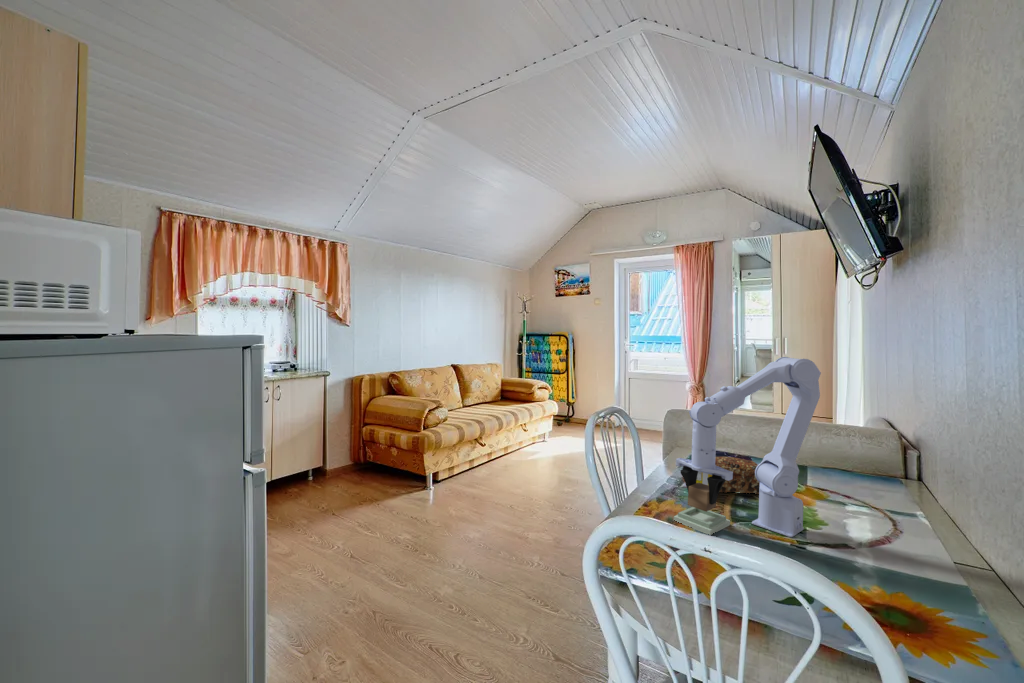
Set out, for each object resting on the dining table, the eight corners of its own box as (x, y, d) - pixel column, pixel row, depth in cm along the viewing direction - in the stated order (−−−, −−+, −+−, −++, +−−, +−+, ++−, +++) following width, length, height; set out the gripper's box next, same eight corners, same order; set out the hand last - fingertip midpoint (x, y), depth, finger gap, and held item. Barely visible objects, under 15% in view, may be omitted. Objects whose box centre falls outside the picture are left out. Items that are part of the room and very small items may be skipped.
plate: (730, 524, 113) (730, 516, 113) (710, 535, 107) (710, 526, 107) (694, 511, 121) (694, 504, 121) (673, 520, 115) (673, 512, 115)
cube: (715, 507, 114) (716, 488, 113) (706, 511, 110) (707, 492, 110) (697, 500, 117) (698, 482, 117) (687, 505, 114) (688, 486, 114)
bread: (702, 492, 137) (703, 460, 136) (693, 480, 147) (694, 451, 147) (765, 496, 134) (766, 464, 134) (752, 484, 144) (753, 455, 144)
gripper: (670, 444, 117) (668, 494, 117) (723, 457, 105) (721, 512, 106) (684, 440, 121) (683, 489, 121) (737, 453, 110) (735, 506, 110)
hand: (702, 499), depth 114 cm, fingers closed on cube, 5 cm apart
